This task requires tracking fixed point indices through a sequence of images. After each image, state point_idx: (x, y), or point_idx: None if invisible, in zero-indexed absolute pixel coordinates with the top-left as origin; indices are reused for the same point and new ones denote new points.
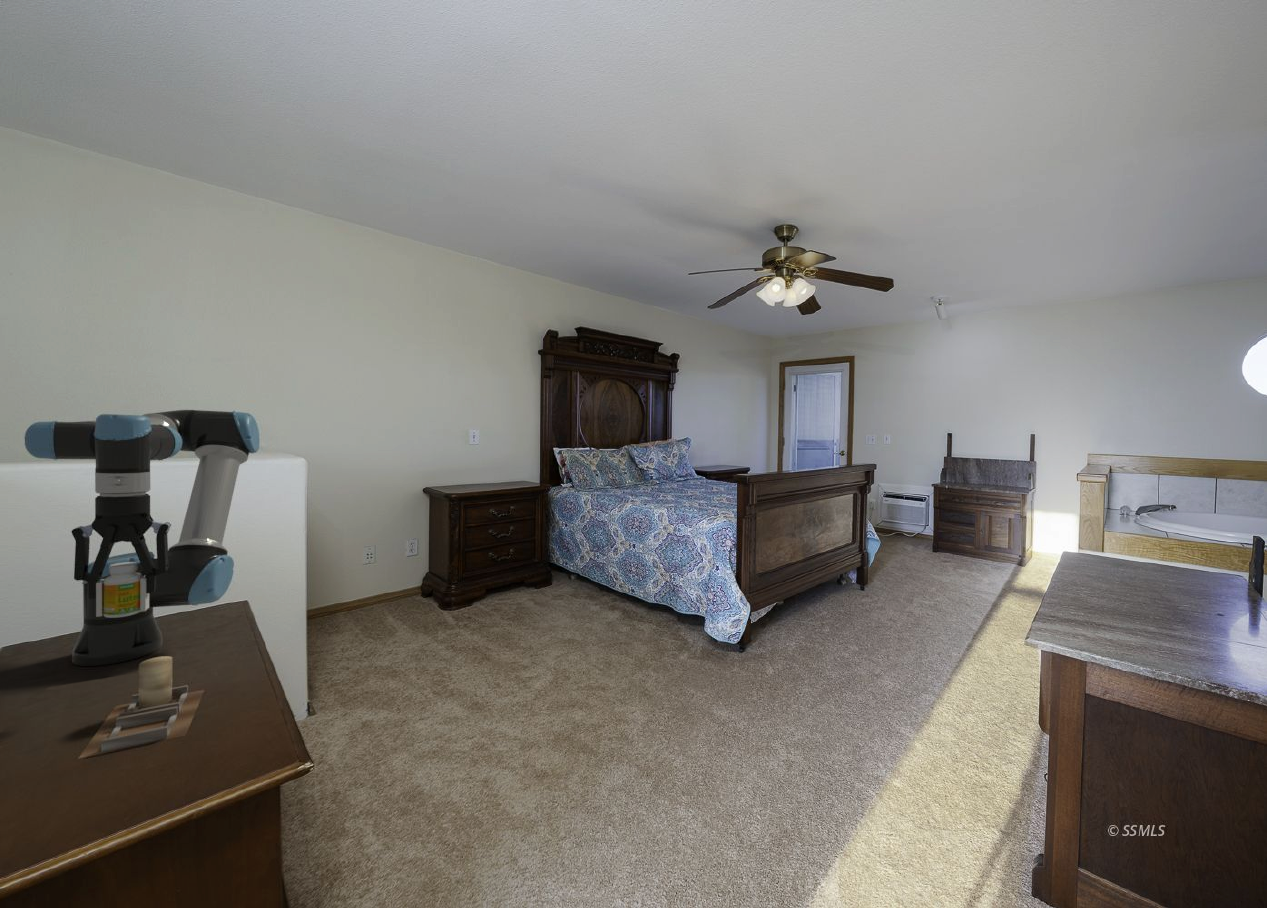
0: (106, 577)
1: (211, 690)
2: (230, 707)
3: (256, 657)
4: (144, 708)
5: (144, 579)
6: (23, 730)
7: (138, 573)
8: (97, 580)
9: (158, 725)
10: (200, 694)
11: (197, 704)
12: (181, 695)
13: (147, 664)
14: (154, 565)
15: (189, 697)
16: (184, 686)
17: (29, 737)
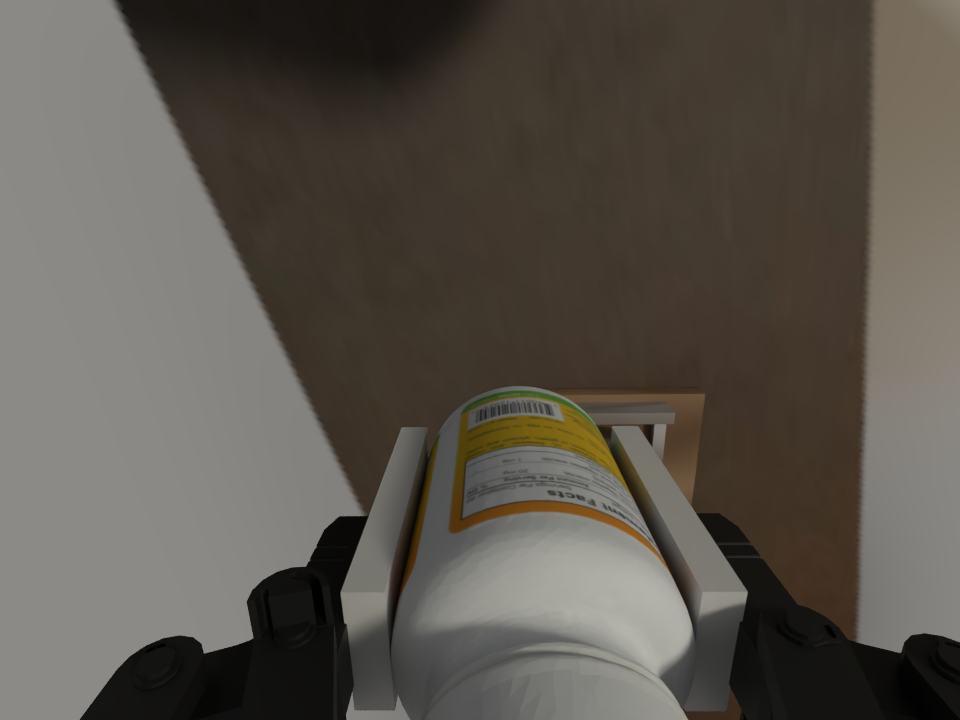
0: (403, 688)
1: (713, 356)
2: (756, 489)
3: (859, 109)
4: None
5: (714, 702)
6: (326, 394)
7: (674, 671)
8: (348, 701)
9: None
10: (696, 421)
11: (692, 483)
12: (655, 430)
13: None
14: (879, 713)
15: (671, 428)
16: (666, 418)
17: (358, 439)
